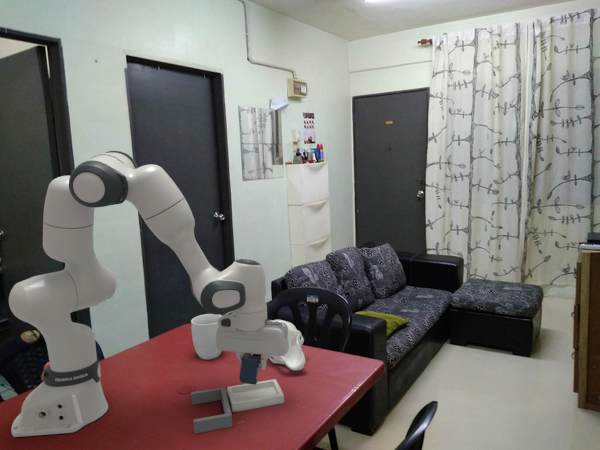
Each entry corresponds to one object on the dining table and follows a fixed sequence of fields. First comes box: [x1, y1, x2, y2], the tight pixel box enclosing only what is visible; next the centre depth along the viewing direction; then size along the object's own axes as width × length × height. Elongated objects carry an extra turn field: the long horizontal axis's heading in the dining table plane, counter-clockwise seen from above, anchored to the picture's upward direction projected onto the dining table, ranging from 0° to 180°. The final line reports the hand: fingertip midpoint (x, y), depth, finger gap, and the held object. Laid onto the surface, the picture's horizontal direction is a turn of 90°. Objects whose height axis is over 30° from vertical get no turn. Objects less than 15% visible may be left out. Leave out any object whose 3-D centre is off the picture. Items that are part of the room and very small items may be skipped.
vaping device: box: [239, 353, 262, 385], centre depth 125 cm, size 3×5×12 cm, turn 84°
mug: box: [190, 313, 223, 361], centre depth 157 cm, size 15×11×13 cm
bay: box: [190, 386, 233, 435], centre depth 119 cm, size 9×15×3 cm, turn 16°
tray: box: [226, 378, 285, 413], centre depth 126 cm, size 14×10×2 cm
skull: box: [268, 319, 306, 371], centre depth 147 cm, size 13×14×20 cm
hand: (253, 367), depth 125 cm, fingers closed on vaping device, 4 cm apart
